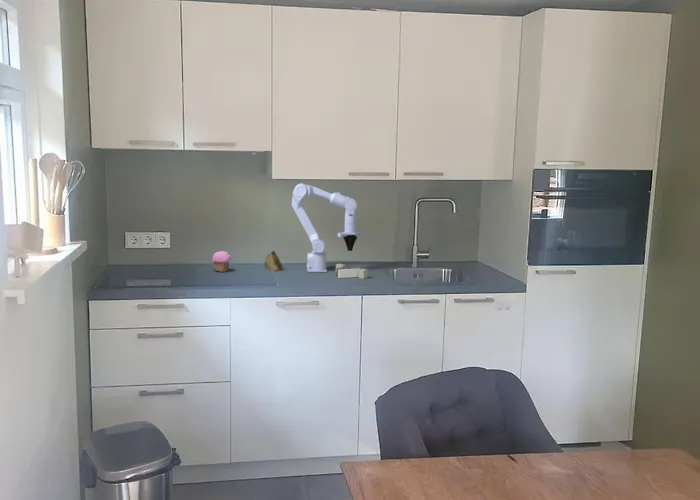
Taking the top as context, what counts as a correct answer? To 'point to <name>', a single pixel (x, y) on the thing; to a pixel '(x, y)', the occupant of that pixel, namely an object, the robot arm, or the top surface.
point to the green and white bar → (362, 272)
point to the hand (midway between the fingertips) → (349, 250)
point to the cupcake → (221, 261)
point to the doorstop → (340, 269)
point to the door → (348, 273)
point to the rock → (273, 262)
